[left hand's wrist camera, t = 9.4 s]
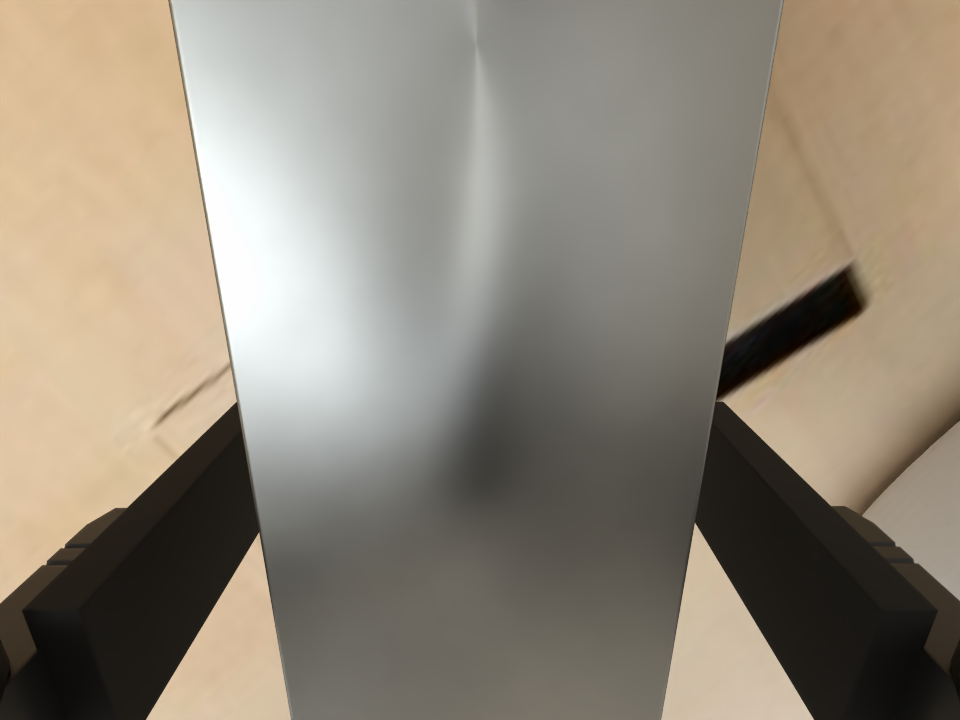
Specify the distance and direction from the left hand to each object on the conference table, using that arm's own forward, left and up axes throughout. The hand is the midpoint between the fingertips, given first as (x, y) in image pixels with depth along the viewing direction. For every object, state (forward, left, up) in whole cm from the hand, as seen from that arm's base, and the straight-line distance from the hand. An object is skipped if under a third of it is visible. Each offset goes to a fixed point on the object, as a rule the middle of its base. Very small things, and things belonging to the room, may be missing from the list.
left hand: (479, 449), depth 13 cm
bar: (+8, 0, -2) cm, 8 cm away
